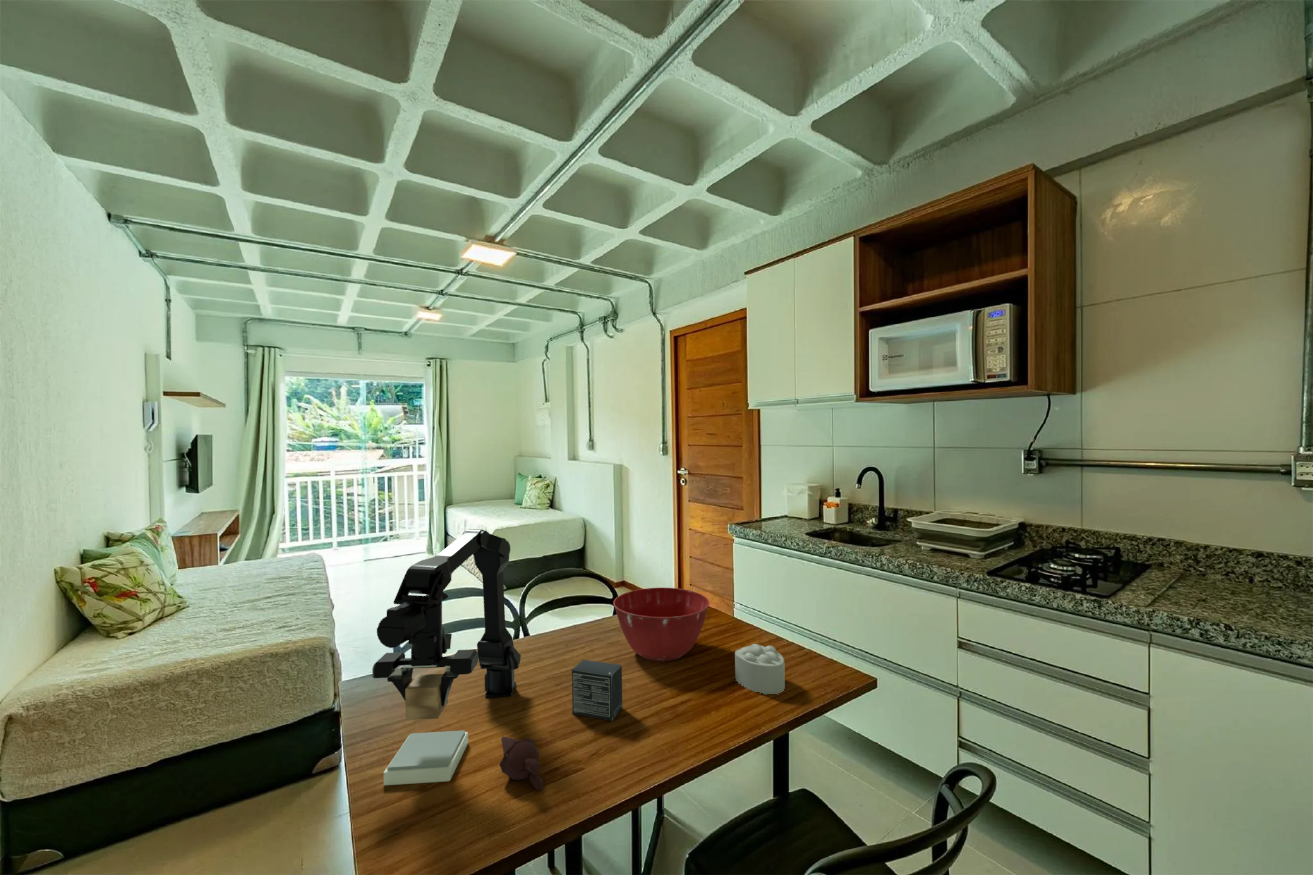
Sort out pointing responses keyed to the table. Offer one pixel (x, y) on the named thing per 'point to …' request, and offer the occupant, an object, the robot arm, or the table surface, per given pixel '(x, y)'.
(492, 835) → the table surface
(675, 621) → the mixing bowl
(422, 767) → the pedestal
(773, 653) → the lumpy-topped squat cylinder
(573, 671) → the small box
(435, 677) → the oak cube
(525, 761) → the maroon toy figure
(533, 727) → the table surface
